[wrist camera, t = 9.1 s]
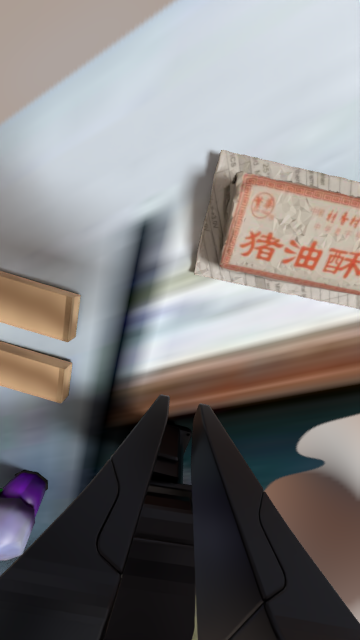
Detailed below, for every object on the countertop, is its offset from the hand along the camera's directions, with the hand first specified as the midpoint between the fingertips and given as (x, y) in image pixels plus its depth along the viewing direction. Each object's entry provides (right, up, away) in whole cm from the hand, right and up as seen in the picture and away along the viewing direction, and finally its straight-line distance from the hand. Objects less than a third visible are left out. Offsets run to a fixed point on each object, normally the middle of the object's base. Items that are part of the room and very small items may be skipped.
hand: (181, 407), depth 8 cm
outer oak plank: (-16, +5, +13) cm, 21 cm away
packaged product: (+11, +11, +10) cm, 19 cm away
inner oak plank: (-18, -2, +15) cm, 24 cm away
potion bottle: (-24, -22, +23) cm, 40 cm away
